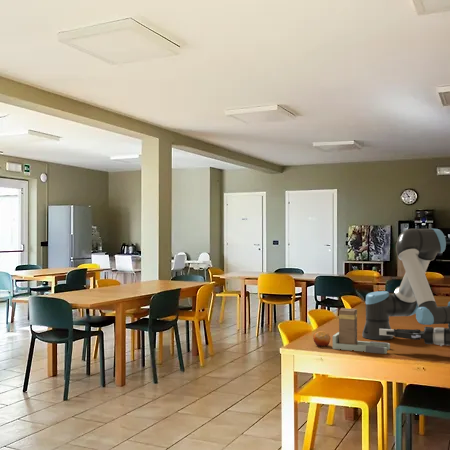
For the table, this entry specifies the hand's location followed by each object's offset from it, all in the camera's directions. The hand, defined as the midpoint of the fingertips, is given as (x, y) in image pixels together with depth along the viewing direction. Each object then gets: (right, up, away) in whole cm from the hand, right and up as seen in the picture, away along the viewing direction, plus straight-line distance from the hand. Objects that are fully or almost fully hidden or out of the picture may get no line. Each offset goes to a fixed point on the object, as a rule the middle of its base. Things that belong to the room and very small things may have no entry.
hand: (379, 331), depth 255 cm
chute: (-7, -9, +3) cm, 12 cm away
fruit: (-25, -9, +11) cm, 29 cm away
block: (-13, -9, +6) cm, 17 cm away
